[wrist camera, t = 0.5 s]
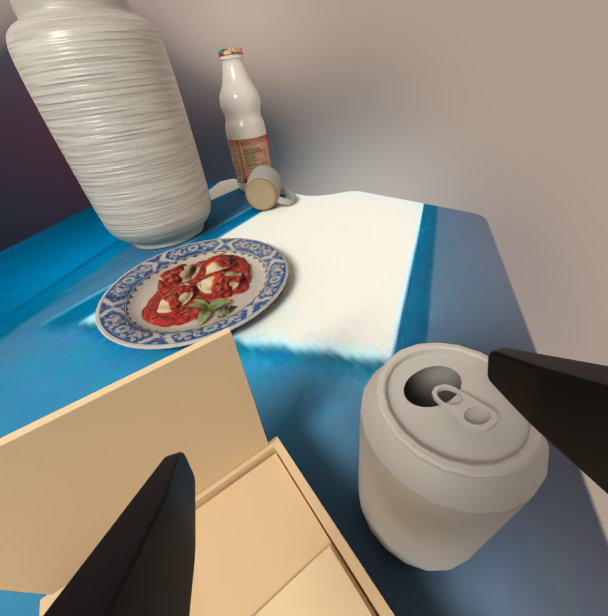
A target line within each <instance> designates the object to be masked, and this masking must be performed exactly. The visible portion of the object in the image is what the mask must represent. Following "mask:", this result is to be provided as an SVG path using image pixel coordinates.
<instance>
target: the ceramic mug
mask: <svg viewBox="0 0 608 616" xmlns="http://www.w3.org/2000/svg"><path fill="white" fill-rule="evenodd" d="M280 194H283V195H285V196H287V197H289V198H290V199H286V198H283V197H280ZM245 196H246V199H247V201H248V203H249V204H250V205H251V206H252V207H253V208H255V209H257V210H261V211H265V210H269V209H271V208H272V207H273V206H274V205H275V204H276V203H279V204H282V205H286V206H291V205H293V204H294V203H295V199H296V195H295V194H294V193H293V192H292V191H290V190H288V189H286V188H284V187H282V180H281V177H280V176H279V174H278V172H277V171H276V170H274V169H273V168H271V167H269V166H258V167H256V168H255V169H254V170H253V171H252V172H251V173H250V176H249V178H248V181H247V184H246V188H245Z"/></svg>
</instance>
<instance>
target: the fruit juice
mask: <svg viewBox="0 0 608 616" xmlns="http://www.w3.org/2000/svg"><path fill="white" fill-rule="evenodd" d="M242 54H243V53H242V49H241V48H228V49H222V50H219V57H220V60H221V61H222V64H223V79H222V89H221V92H220V97H219V100H220V106H221V108H222V111H223V113H224V115H225V118H226V124H225V128H226V134H227V138H228V142H229V147H230V151H231V155H232V159H233V164H234V168H235V172H236V176H237V181H238V185H239V188H240V190H241V191H243V192H245V188H246V184H247V181H248V178H249V176H250V173H251V172H252V171H253V170H254V169H255V168H256V167H258V166H269V167H271V161H270V155H269V148H268V142H267V136H266V130H265V125H264V121H263V119H262V117H261V115H260V97H259V94H258V91H257V89H256V88H255V87H254V85H253V84H252V82H251V80H250V79H249V76H248V74H247V72H246V69H245V67H244V64H243V62H242V58H243V55H242ZM271 168H272V167H271Z"/></svg>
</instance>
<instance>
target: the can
mask: <svg viewBox="0 0 608 616" xmlns="http://www.w3.org/2000/svg"><path fill="white" fill-rule="evenodd" d="M487 371H488V356H487V355H485V354H483V353H481V352H478V351H475V350H472V349H469V348H466V347H463V346H460V345H453V344H446V343H438V342H437V343H424V344H416V345H413V346H411V347H408V348H405V349H402V350H400V351H398V352H397V353H396V354H394V355H393V356H392V357H391V358H389V359H388V360H387V361H386V362H385V364H384V366H382V367H381V368H380V369H378V370H377V371H376V372H375V373H374V374H373V376H372V377H371V379H370V380H369V382H368V384H367V385H366V387H365V388H364V393H363V398H362V404H361V411H360V444H359V478H358V490H359V497H360V504H361V509H362V511H363V514H364V516H365V518H366V521H367V523H368V525H369V528H370V530H371V531H372V532H373V534H374V535H375V536H376V537H377V539H378V540H379V541H380V542H381V544H382V545H383V546H384V548H385V549H387V550H388V551H389V552H391V553H392V554H393V555H395V556H396V557H397V558H399V559H400V560H401V561H403V562H404V563H406V564H409V565H412V566H414V567H417V568H420V569H423V570H426V571H440V570H451V569H452V568H454V567H456V566H458V565H460V564H462V563H464V562H466V561H467V560H468V559H469V558H471V557H472V556H473V555H474V554H475V553H476V552H477V551H478V550H479V549H480V548H481V547H482V546H483V545H484V544H485V543H486V542H487V541H488V540H489V539H490V538H491V537H492V536H493V535H494V534H495V533H496V532H497V531H499V530H500V529H501V528H502V527H503V526H504V525H505V524H506V523H507V522H508V521H509V520H510V519H511V518H512V517H513V516H514V515H515V514H516V513H517V512H518V511H519V510H520V509H521V508H522V507H523V506H524V505H525V504H526V503H528V502H529V501H530V500H531V499H532V497H533V496H534V494H535V493H536V491H537V490H538V488H539V487H540V485H541V484H542V482H543V481H544V479H545V478H546V476H547V470H548V458H549V446H548V443H547V440H546V438H545V437H544V436H543V435H542V434H541V433H539V432H538V431H537V430H536V429H535V428H534V427H533V426H532V425H531V424H530V423H529V422H528V421H527V420H526V419H525V418H524V417H523V416H522V415H521V414H520V413H519V412H518V411H517V410H516V409H515V408H514V406H513V405H512V404H511V403H510V402H509V401H508V400H507V399H506V398H505V397H504V396H503V395H502V394H501V393H500V392H499V391H498V390H497V389H496V387H495V386H494V385H493V384H492V383H491V382H490V380H489V378H488V375H487Z"/></svg>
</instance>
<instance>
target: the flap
mask: <svg viewBox="0 0 608 616" xmlns="http://www.w3.org/2000/svg"><path fill="white" fill-rule="evenodd" d="M267 444H268V442H267V439H266V436H265V433H264V430H263V427H262V424H261V421H260V418H259V415H258V412H257V409H256V406H255V403H254V400H253V397H252V394H251V391H250V388H249V385H248V382H247V379H246V376H245V373H244V369H243V366H242V363H241V360H240V357H239V354H238V351H237V348H236V345H235V342H234V339H233V336H232V333H231V331H230V330H229V328H228V327H227V328H225V329H223V330H221V331H219V332H217V333H215V334H213V335H211V336H209V337H207V338H205V339H203V340H201V341H199V342H197V343H195V344H193V345H191V346H188V347H186V348H184V349H182V350H180V351H178V352H176V353H174V354H172V355H170V356H168V357H166V358H164V359H162V360H160V361H158V362H156V363H154V364H152V365H150V366H148V367H146V368H143V369H141V370H139V371H137V372H135V373H133V374H131V375H129V376H127V377H125V378H123V379H121V380H119V381H117V382H115V383H113V384H111V385H109V386H107V387H105V388H103V389H100V390H98V391H96V392H94V393H92V394H90V395H88V396H86V397H84V398H82V399H80V400H78V401H76V402H74V403H72V404H70V405H68V406H66V407H64V408H62V409H60V410H58V411H55V412H53V413H51V414H49V415H47V416H45V417H43V418H41V419H39V420H37V421H35V422H33V423H31V424H29V425H27V426H25V427H23V428H21V429H19V430H17V431H15V432H13V433H10V434H8V435H6V436H4V437H2V438H0V590H9V591H19V592H29V593H39V594H49V595H52V594H54V593H55V592H57V591H58V590H60V589H61V588H62V587H64V586H65V585H67V584H68V582H69V581H70V580H71V578H72V577H73V576H74V575H75V573H76V572H77V571H78V569H79V568H80V567H81V565H82V564H83V563H84V562H85V560H86V559H87V558H88V556H89V555H90V554H91V552H92V551H93V550H94V549H95V547H96V546H97V545H98V543H99V542H100V541H101V539H102V538H103V537H104V535H105V534H106V533H107V532H108V530H109V529H110V528H111V526H112V525H113V524H114V522H115V521H116V520H117V519H118V517H119V516H120V515H121V513H122V512H123V511H124V509H125V508H126V507H127V506H128V504H129V503H130V502H131V500H132V499H133V498H134V496H135V495H136V494H137V493H138V491H139V490H140V489H141V487H142V486H143V485H144V483H145V482H146V481H147V479H148V478H149V477H150V476H151V474H152V473H153V472H154V470H155V469H156V468H157V466H158V465H159V464H160V463H161V461H162V460H163V459H164V458H165V457H166V456H168V455H171V454H174V453H177V452H183V453H184V454H185V456H186V458H187V460H188V463H189V465H190V467H191V469H192V471H193V474H194V477H195V495H196V494H197V493H199V492H200V491H202V490H203V489H204V488H206V487H207V486H209V485H210V484H212V483H213V482H214V481H216V480H217V479H219V478H220V477H222V476H223V475H224V474H226V473H227V472H229V471H230V470H232V469H233V468H234V467H236V466H237V465H239V464H240V463H242V462H243V461H245V460H246V459H247V458H249V457H250V456H252V455H253V454H255V453H256V452H257V451H259V450H260V449H262V448H263V447H265V446H266V445H267Z"/></svg>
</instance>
